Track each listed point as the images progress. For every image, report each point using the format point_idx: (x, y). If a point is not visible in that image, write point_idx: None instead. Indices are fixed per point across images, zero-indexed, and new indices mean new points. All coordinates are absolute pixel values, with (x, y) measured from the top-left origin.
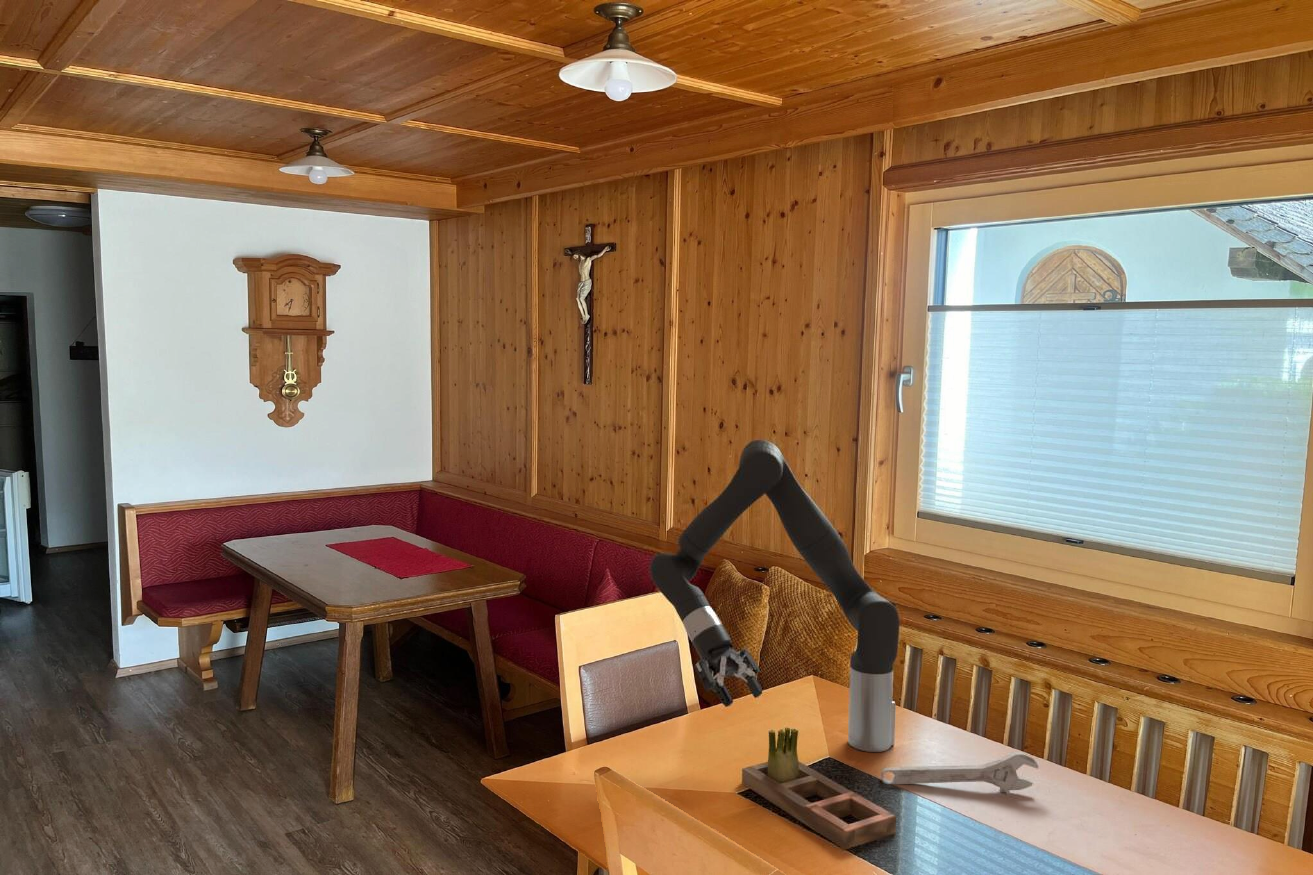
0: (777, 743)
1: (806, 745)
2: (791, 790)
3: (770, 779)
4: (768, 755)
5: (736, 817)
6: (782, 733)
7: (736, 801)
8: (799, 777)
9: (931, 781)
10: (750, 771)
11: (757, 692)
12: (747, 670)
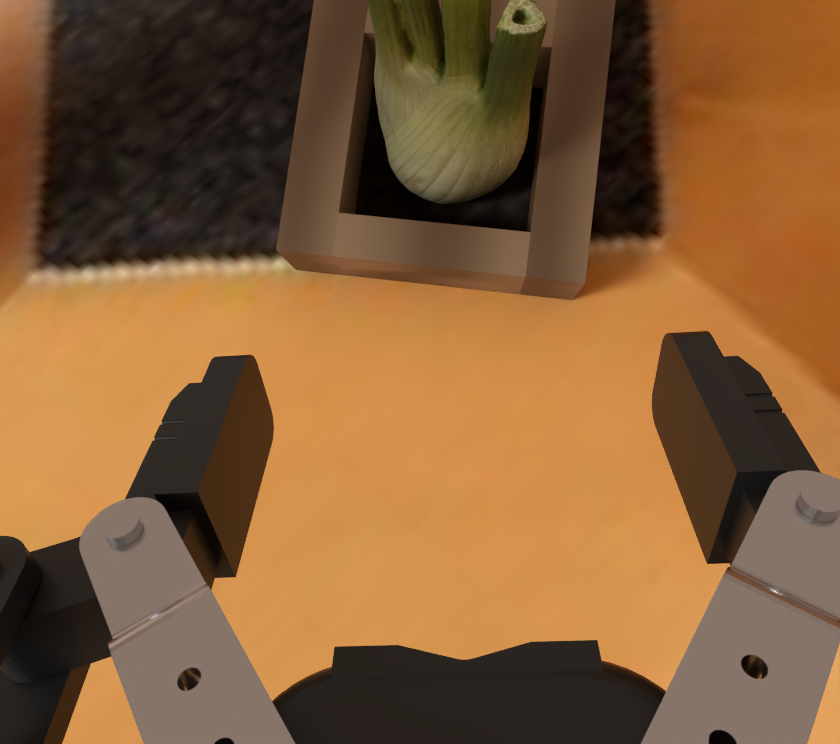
0: (490, 41)
1: (15, 425)
2: None
3: (556, 107)
4: (526, 117)
5: (820, 68)
6: None
7: (720, 177)
8: (360, 130)
9: None
10: (575, 230)
11: (253, 389)
12: (166, 590)
